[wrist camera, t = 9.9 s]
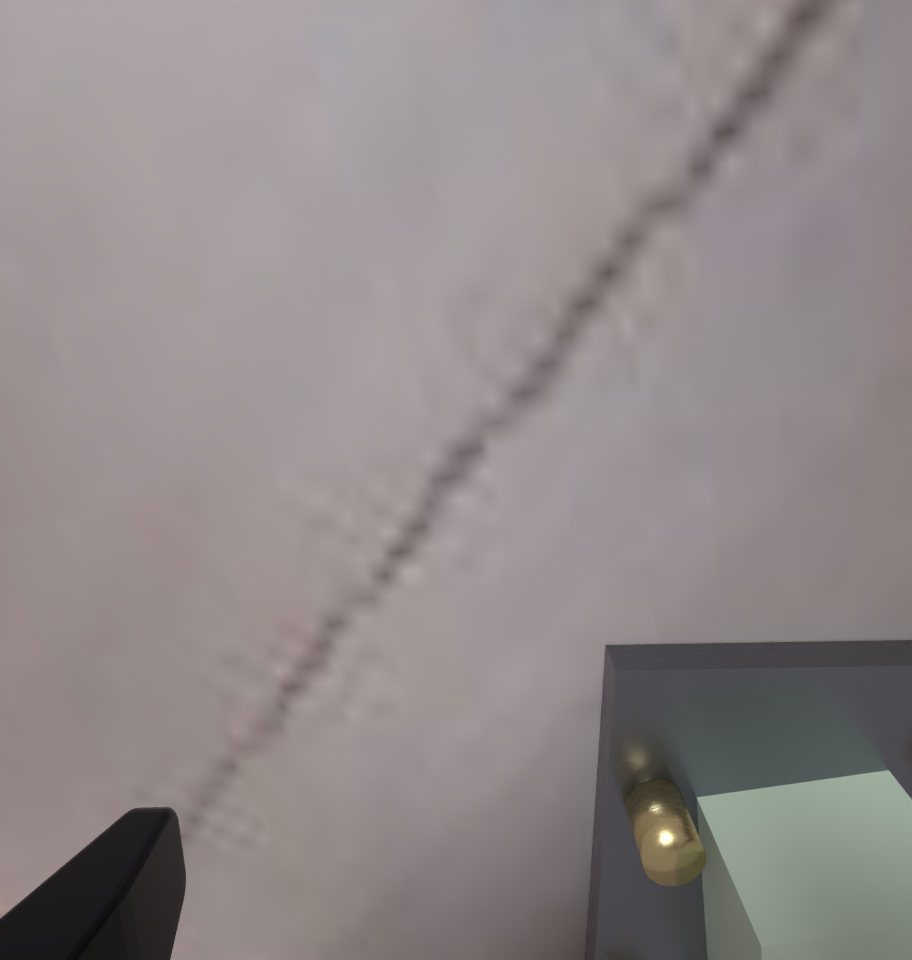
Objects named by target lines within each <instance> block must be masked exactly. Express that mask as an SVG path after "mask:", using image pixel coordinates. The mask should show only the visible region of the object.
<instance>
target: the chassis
mask: <svg viewBox="0 0 912 960" xmlns="http://www.w3.org/2000/svg"><path fill="white" fill-rule="evenodd" d="M886 770H889V771H890V772H891V774H892V775H893V776H894V777H895V779H896V780H897V781H898V783H899V784H900V785H901V786H902V788H903V789H904V790H905V791H906V793H907V794H908V795H909V797H910V798H911V799H912V640H896V641H834V642H771V643H709V644H647V645H606V648H605V663H604V679H603V694H602V709H601V725H600V740H599V755H598V771H597V786H596V801H595V817H594V832H593V847H592V863H591V878H590V894H589V909H588V924H587V940H586V955H585V960H708V958H707V943H706V928H705V914H704V899H703V884H702V870H703V869H704V867H705V864H706V853H705V850H704V848H703V846H702V843H701V841H700V838H699V826H698V811H697V797H703V796H710V795H717V794H724V793H731V792H738V791H746V790H753V789H760V788H767V787H774V786H781V785H788V784H795V783H802V782H809V781H816V780H823V779H830V778H837V777H844V776H851V775H858V774H865V773H872V772H879V771H886Z"/></svg>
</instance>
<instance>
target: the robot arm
mask: <svg viewBox="0 0 912 960" xmlns="http://www.w3.org/2000/svg"><path fill="white" fill-rule="evenodd" d="M185 886H186V871H185V863H184V856H183V849H182V842H181V835H180V828H179V821H178V817H177V815H176V812H175V811H174V810H173V809H171V808H169V807H152V808H135V809H132V810H130V811H128V812H127V813H126V814H124V815H123V816H122V817H121V818H120V819H118V820H117V821H116V822H115V823H114V824H112V825H111V826H110V827H109V828H108V829H106V830H105V831H104V832H103V833H102V834H101V835H99V836H98V837H97V838H96V839H95V840H93V841H92V842H91V843H90V844H89V845H87V846H86V847H85V848H84V849H83V850H81V851H80V852H79V853H78V854H77V855H75V856H74V857H73V858H72V859H71V860H70V861H68V862H67V863H66V864H65V865H64V866H62V867H61V868H60V869H59V870H58V871H56V872H55V873H54V874H53V875H52V876H50V877H49V878H48V879H47V880H46V881H45V882H43V883H42V884H41V885H40V886H39V887H37V888H36V889H35V890H34V891H33V892H31V893H30V894H29V895H28V896H27V897H25V898H24V899H23V900H22V901H21V902H20V903H18V904H17V905H16V906H15V907H14V908H12V909H11V910H10V911H9V912H8V913H6V914H5V915H4V916H3V917H2V918H0V960H170V958H171V953H172V949H173V944H174V940H175V936H176V931H177V927H178V922H179V918H180V913H181V909H182V905H183V900H184V895H185Z"/></svg>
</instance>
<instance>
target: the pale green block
mask: <svg viewBox="0 0 912 960" xmlns="http://www.w3.org/2000/svg"><path fill="white" fill-rule="evenodd" d="M697 811H698V826H699V838H700V841H701V843H702V846H703V848H704V850H705V853H706V864H705V867H704V869H703V870H702V884H703V899H704V914H705V928H706V943H707V958H708V960H912V799H911V798H910V797H909V795H908V794H907V793H906V791H905V790H904V789H903V788H902V786H901V785H900V784H899V783H898V781H897V780H896V779H895V777H894V776H893V775H892V774H891V772H890V771H889V770H886V771H879V772H872V773H865V774H858V775H851V776H844V777H837V778H830V779H823V780H816V781H809V782H802V783H795V784H788V785H781V786H774V787H767V788H760V789H753V790H746V791H738V792H731V793H724V794H717V795H710V796H703V797H697Z"/></svg>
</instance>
